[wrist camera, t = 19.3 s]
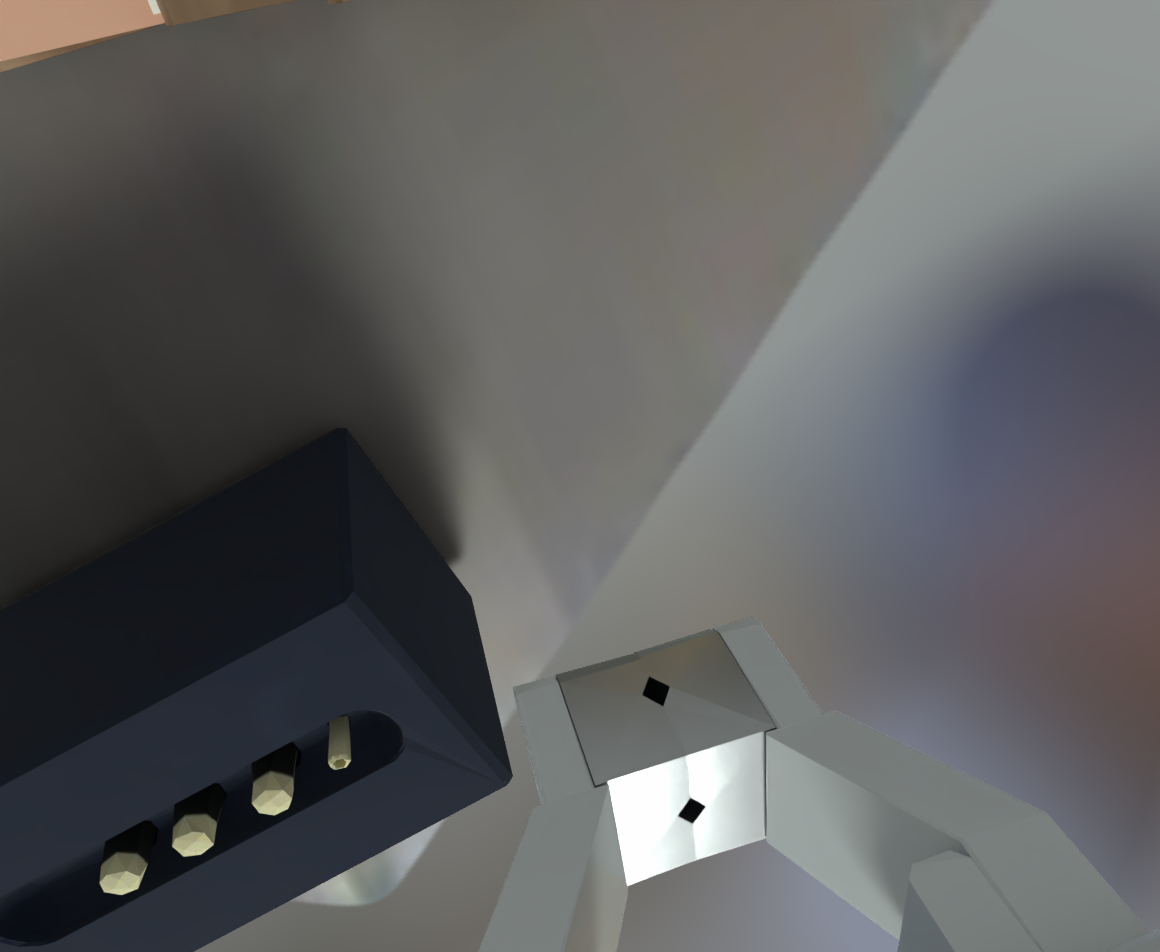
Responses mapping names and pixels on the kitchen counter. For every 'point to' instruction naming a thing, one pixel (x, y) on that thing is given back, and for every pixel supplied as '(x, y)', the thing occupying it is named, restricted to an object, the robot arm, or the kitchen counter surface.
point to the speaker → (235, 711)
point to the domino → (68, 22)
